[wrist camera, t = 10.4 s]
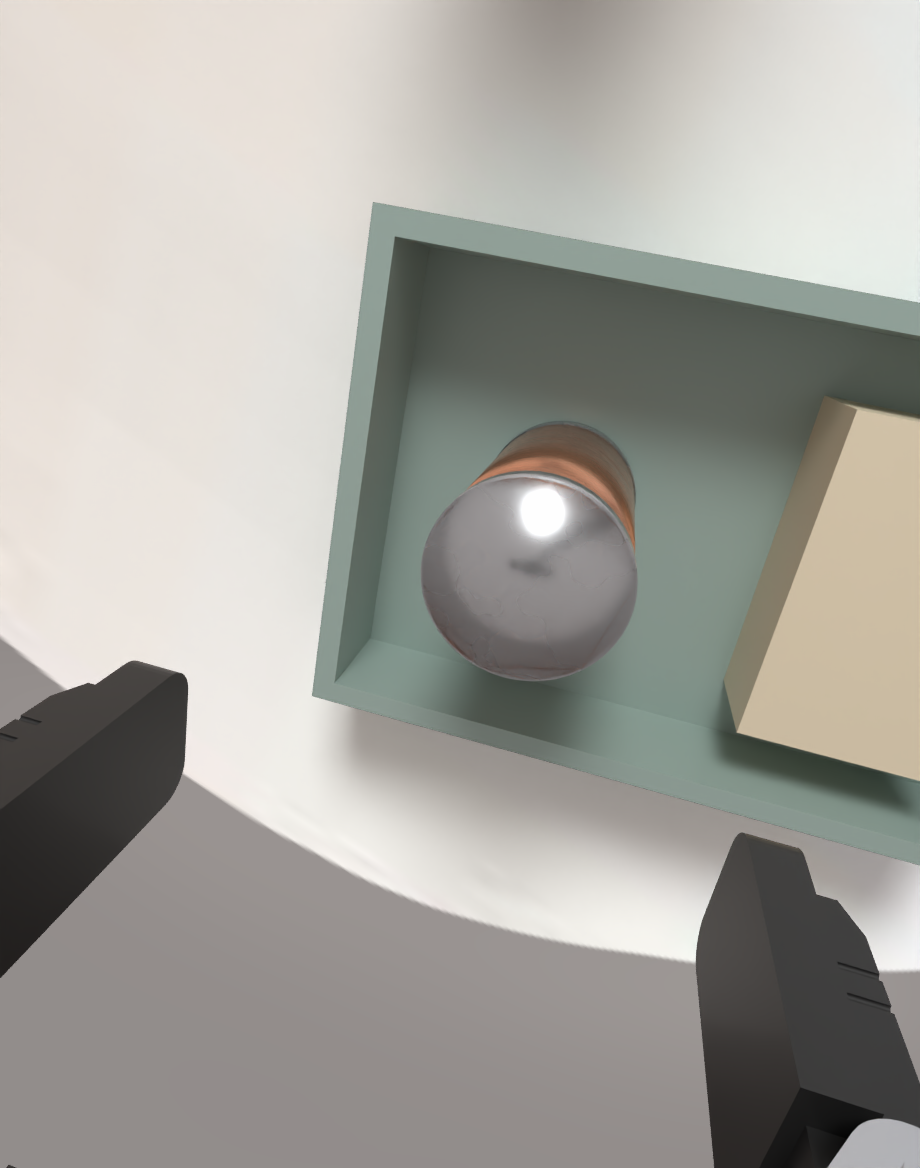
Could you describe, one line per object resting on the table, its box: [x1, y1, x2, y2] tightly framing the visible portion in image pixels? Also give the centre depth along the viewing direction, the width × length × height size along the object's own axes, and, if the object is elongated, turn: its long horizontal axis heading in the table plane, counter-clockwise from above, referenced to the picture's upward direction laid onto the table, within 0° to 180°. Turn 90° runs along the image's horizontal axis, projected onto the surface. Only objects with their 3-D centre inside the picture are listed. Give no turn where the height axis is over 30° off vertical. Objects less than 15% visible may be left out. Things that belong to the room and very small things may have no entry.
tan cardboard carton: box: [724, 395, 920, 781], centre depth 25 cm, size 7×11×4 cm, turn 169°
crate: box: [312, 202, 920, 865], centre depth 26 cm, size 24×17×5 cm
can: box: [421, 421, 638, 681], centre depth 24 cm, size 6×6×10 cm
